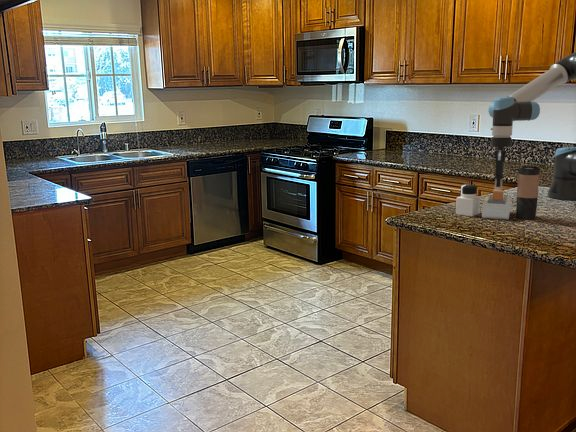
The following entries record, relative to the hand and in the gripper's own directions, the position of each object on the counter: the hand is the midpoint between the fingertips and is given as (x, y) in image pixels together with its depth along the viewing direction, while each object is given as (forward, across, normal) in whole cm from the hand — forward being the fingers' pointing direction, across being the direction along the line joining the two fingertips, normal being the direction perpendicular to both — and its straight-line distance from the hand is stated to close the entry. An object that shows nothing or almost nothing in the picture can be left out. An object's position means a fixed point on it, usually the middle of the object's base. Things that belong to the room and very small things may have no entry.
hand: (497, 194), depth 232 cm
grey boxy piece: (+8, +5, 0) cm, 9 cm away
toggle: (+2, +2, 0) cm, 3 cm away
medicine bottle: (+8, +7, -11) cm, 15 cm away
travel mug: (+8, +7, +11) cm, 15 cm away
